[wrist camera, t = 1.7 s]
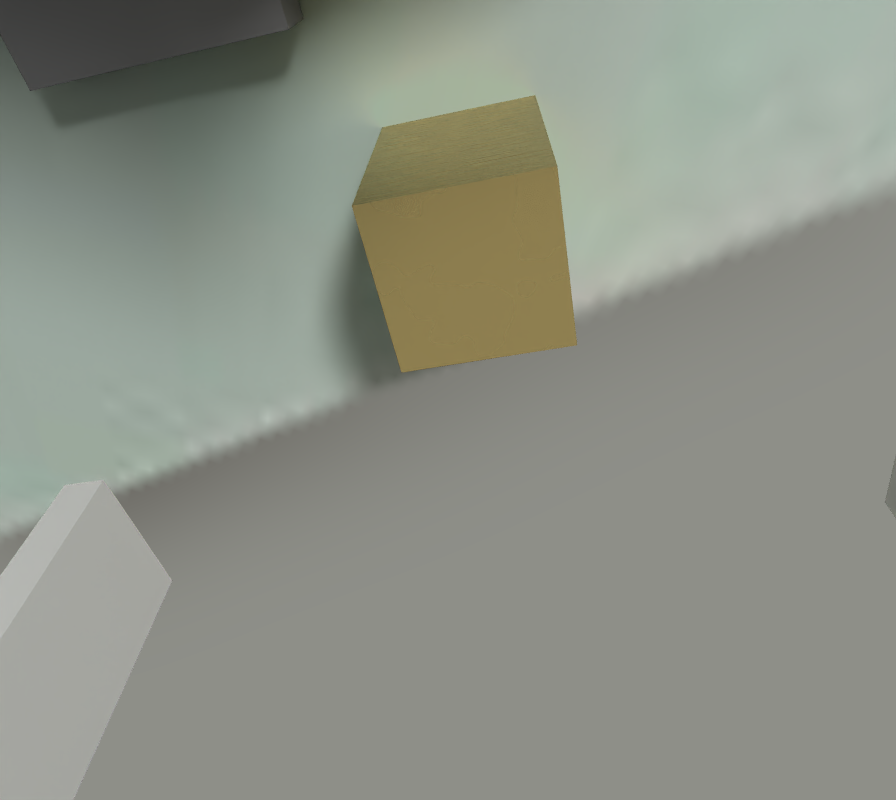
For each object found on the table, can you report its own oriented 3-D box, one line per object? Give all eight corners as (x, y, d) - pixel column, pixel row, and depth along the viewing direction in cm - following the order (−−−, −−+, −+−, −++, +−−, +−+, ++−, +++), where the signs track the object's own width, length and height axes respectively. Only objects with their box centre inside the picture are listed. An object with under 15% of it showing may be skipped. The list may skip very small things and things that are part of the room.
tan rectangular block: (417, 265, 25) (401, 372, 20) (382, 127, 22) (351, 206, 17) (552, 241, 24) (577, 345, 19) (535, 95, 22) (557, 166, 16)
